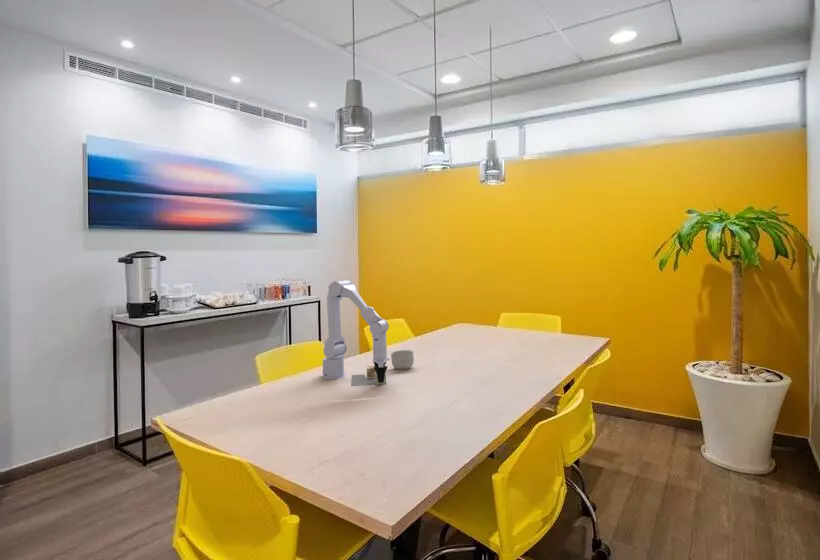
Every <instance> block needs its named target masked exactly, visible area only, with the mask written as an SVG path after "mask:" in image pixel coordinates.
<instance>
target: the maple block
mask: <svg viewBox="0 0 820 560" xmlns="http://www.w3.org/2000/svg"><path fill="white" fill-rule="evenodd" d="M374 366H375V365H366V374H367V378H369V377H375V372H376V371H375V369H374Z"/></svg>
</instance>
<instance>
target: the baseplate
mask: <svg viewBox="0 0 820 560" xmlns="http://www.w3.org/2000/svg"><path fill="white" fill-rule="evenodd" d="M350 379H351V380H350V386H351V387H360V386H361V387H363V386H380V385H382V386H383V385H384V384H375V377H369V378H367V373H366V374H364V373H363V374H351V378H350ZM387 384H388V382H387V381H386V384H385V385H387Z"/></svg>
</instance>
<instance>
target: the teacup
mask: <svg viewBox="0 0 820 560" xmlns="http://www.w3.org/2000/svg"><path fill="white" fill-rule="evenodd" d="M390 357H391V364H392V366H393V368H395V369H396V370H402V371H403V370H404V371H405V370H409V369H411V368H412V366H414V363H415V359H414V358H415V356H414V351H413V350H411V349H405V350H403V349H401V350H395V351H392V352H391V353H390Z"/></svg>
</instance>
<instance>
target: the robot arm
mask: <svg viewBox="0 0 820 560" xmlns="http://www.w3.org/2000/svg"><path fill="white" fill-rule="evenodd" d="M343 298H348V299H349V300H351V302H352V303H353V305H355V306H356V307H357V308H358V309H359V310H360V316H361V317H362V318H363V320H364V321H365V322H366V324H368V326H369V331H370V333H371V337H372V354H373V355H372V362H373V364H374V365H373V366H374V369H375V371H376V373H377V378H378V382H379V383H383V382H384V377H385V372H386V373H387V370H388V365H386V364H387V361H390V357H388V355H387V354H388V353H387V349H388V348H387V331H388V330H389V323H388V321H387V320H386V319H384V318H382V317H381V316H379V314H378V313H377V312H376V311H375V310H376V309H375V308H374V307H372V306H369V305H367V304H366V302H365V301H364V300H363V298H362V296H361V295H360V294H359V292H358V291H357V289H356V285H355V284H354V283H353V281H351V280H349V279H345V280H337V281H336V280H335V281H332V282H331V283H330V284H329V285H328V292H327V296H326V308H327V327H328V328H327V329H328V331H327V332H328V337H326V340H325V341H324V347H323V354H324V357H323V358H322V379H323V380H329V379H345V378H346V373H345V365H344V364H345V363H344V362H345V361H344V357H345V354H346V352H347V345H346V341H345V337H344V336H342V327H341V325H342V324H341V307H340V306H341V305H340V301H341V300H342V299H343Z"/></svg>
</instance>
